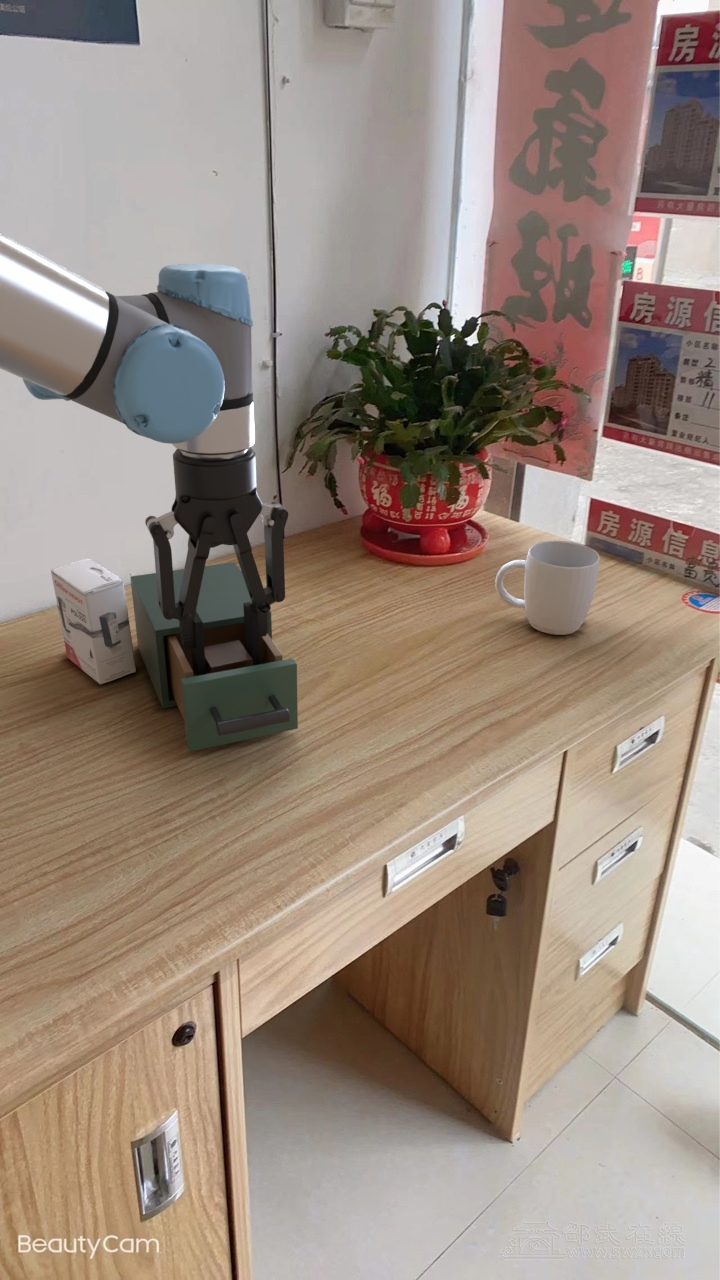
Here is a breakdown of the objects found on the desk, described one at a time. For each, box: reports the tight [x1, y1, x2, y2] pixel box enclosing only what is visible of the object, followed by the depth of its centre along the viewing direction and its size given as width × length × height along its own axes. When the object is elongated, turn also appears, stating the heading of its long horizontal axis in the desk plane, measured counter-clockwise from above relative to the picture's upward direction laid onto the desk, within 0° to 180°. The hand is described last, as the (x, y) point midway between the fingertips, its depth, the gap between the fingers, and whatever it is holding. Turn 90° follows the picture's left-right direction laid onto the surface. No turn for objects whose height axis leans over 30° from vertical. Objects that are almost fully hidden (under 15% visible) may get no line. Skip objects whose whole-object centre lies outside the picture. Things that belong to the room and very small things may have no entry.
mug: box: [494, 540, 601, 636], centre depth 114 cm, size 13×9×10 cm
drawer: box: [163, 623, 299, 753], centre depth 91 cm, size 18×11×8 cm, turn 23°
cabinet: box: [129, 561, 273, 709], centre depth 102 cm, size 15×13×10 cm
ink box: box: [50, 558, 137, 685], centre depth 101 cm, size 9×5×12 cm, turn 43°
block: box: [204, 640, 253, 674], centre depth 92 cm, size 4×4×4 cm
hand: (226, 667), depth 92 cm, fingers open, 5 cm apart
